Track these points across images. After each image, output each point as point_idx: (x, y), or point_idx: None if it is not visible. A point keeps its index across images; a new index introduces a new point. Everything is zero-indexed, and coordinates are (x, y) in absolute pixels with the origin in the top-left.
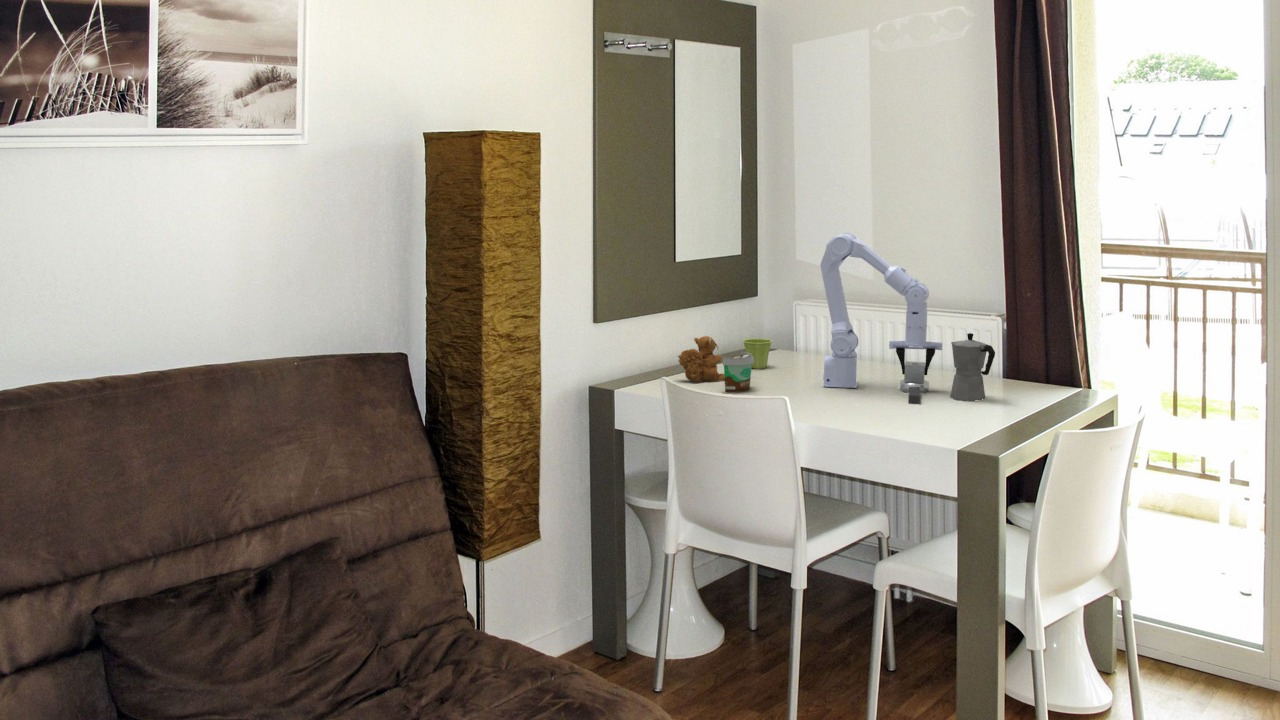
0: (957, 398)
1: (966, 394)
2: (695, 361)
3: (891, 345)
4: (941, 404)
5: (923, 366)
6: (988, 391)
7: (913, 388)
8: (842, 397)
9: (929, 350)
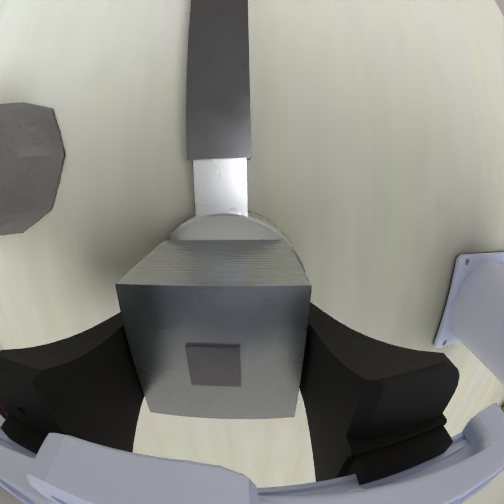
0: (44, 107)
1: (11, 103)
2: None
3: (500, 432)
4: (113, 10)
5: (128, 280)
6: (3, 302)
7: (222, 108)
8: (479, 89)
9: (46, 434)
